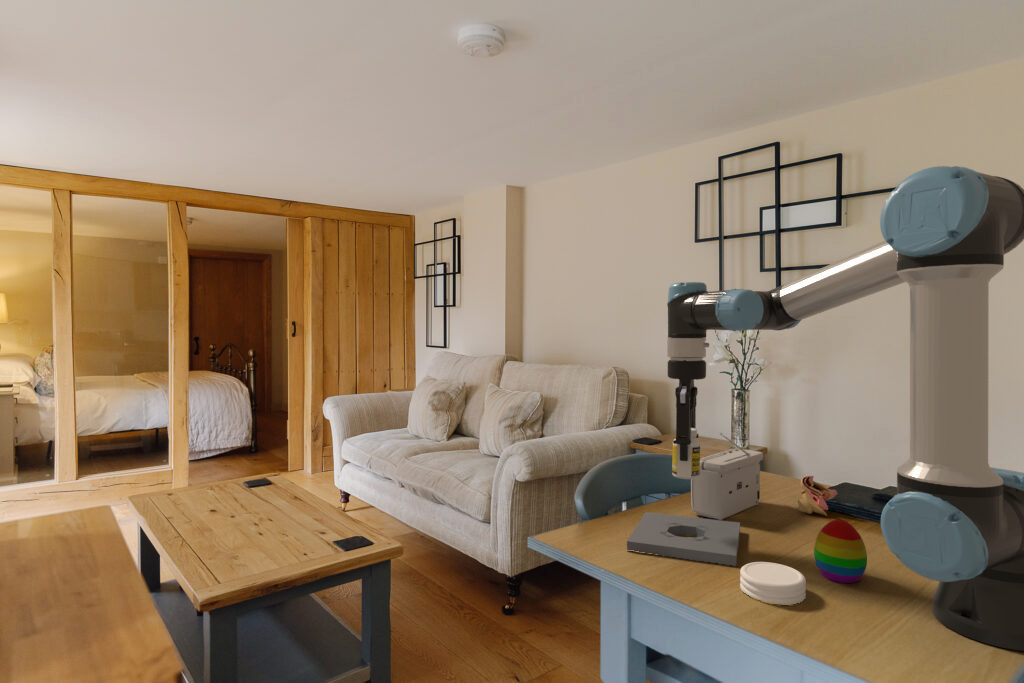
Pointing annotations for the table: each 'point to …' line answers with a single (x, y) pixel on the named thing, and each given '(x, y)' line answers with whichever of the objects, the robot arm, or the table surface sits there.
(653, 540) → the holder plate
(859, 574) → the decorative egg
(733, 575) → the table surface
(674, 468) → the supplement bottle
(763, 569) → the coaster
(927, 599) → the table surface
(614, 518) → the table surface
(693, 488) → the stereo radio cassette player
